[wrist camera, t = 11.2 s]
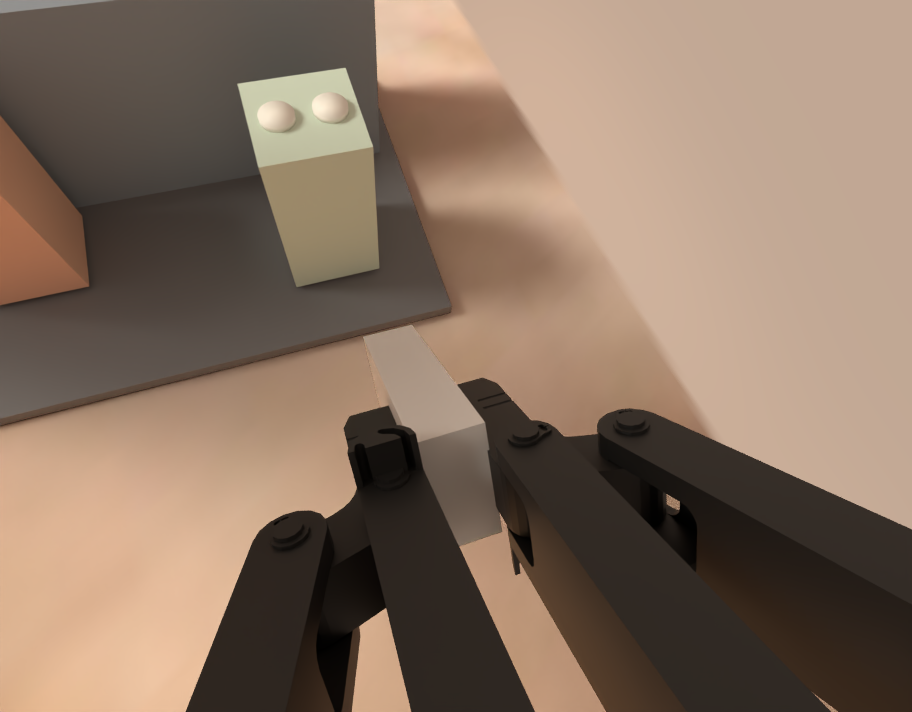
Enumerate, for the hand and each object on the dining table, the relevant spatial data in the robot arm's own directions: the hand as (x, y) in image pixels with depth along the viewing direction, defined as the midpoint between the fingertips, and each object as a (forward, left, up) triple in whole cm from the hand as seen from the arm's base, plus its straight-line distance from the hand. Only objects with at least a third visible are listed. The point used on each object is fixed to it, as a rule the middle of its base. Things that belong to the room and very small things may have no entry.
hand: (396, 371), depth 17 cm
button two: (+11, +10, -14) cm, 20 cm away
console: (+8, +18, -15) cm, 25 cm away
